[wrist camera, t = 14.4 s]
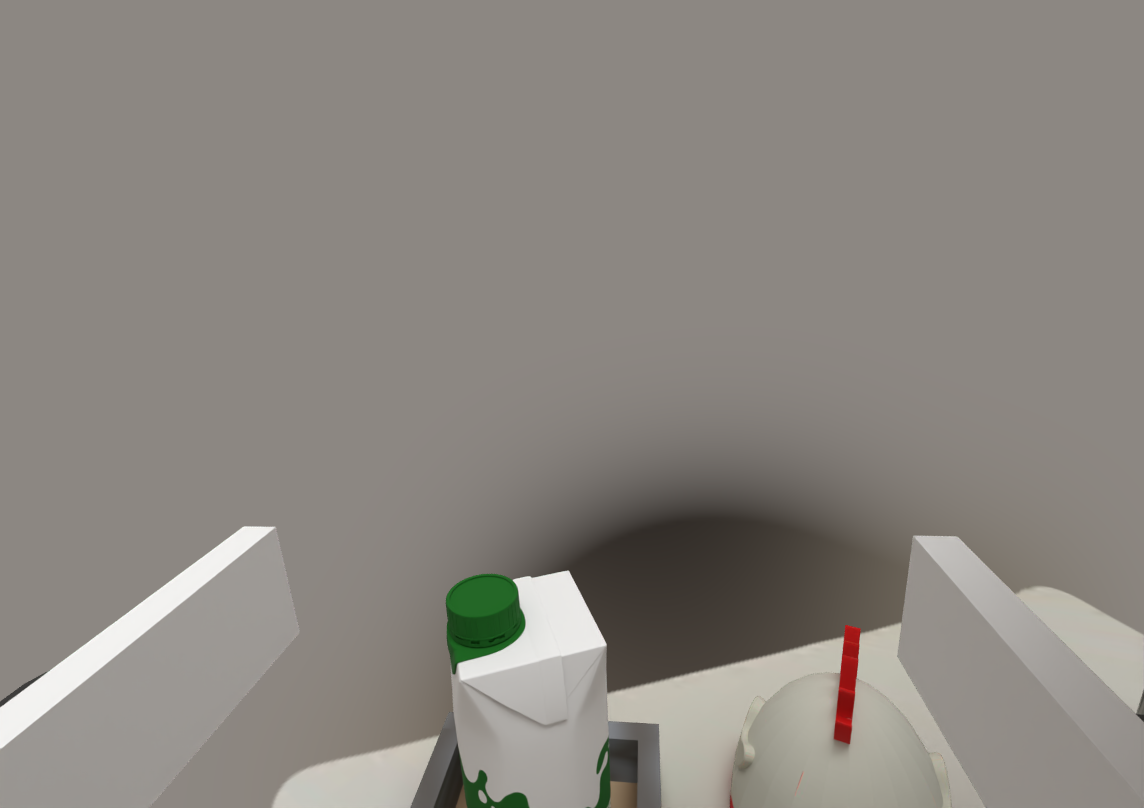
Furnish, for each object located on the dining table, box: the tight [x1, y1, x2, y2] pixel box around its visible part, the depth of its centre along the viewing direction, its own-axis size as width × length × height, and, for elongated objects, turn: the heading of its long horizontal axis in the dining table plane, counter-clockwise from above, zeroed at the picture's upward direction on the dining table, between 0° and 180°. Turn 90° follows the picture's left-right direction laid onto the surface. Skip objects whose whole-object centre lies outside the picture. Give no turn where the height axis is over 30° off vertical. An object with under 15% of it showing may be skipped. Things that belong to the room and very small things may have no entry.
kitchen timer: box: [730, 625, 952, 808], centre depth 38 cm, size 14×14×15 cm
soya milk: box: [446, 571, 611, 808], centre depth 35 cm, size 9×9×20 cm
